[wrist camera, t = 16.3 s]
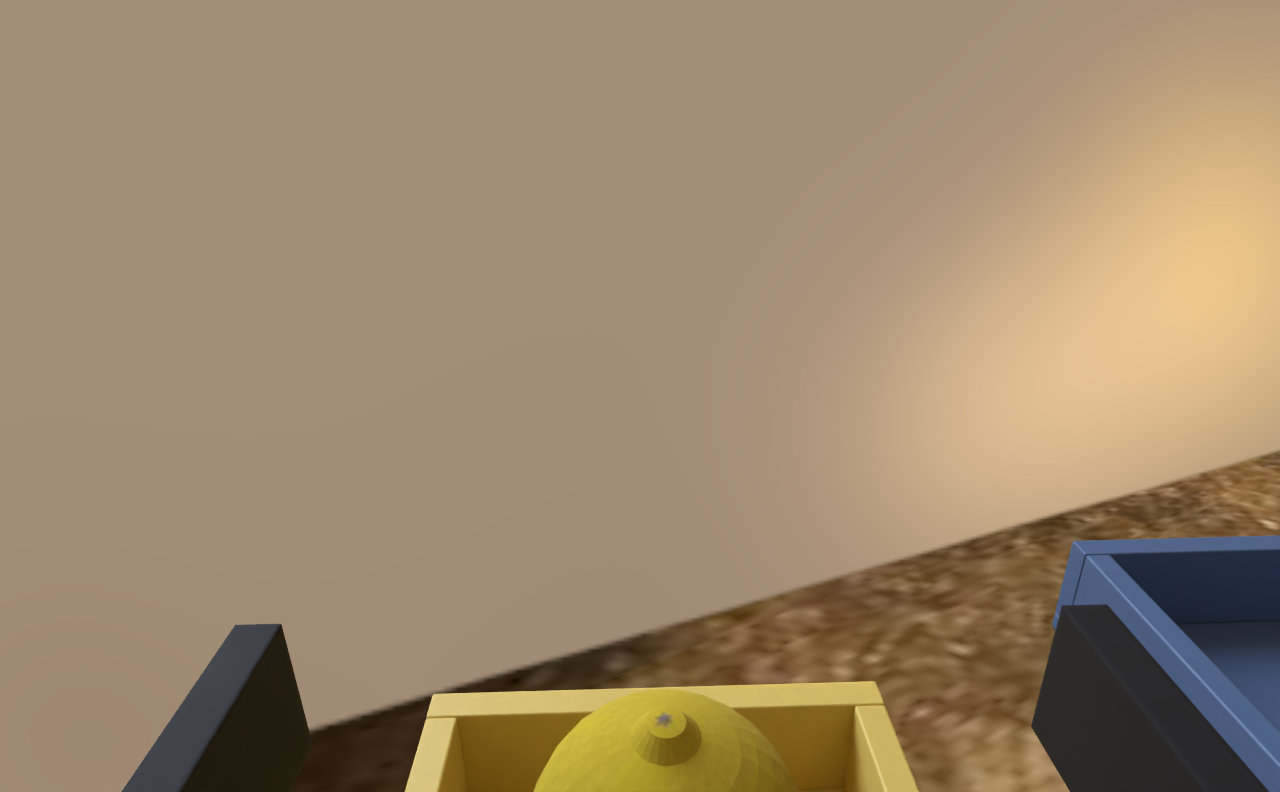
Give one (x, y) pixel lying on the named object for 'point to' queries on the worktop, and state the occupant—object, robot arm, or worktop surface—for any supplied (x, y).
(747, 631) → the worktop surface
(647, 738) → the lemon
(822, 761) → the yellow bin
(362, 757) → the worktop surface
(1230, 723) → the blue bin
